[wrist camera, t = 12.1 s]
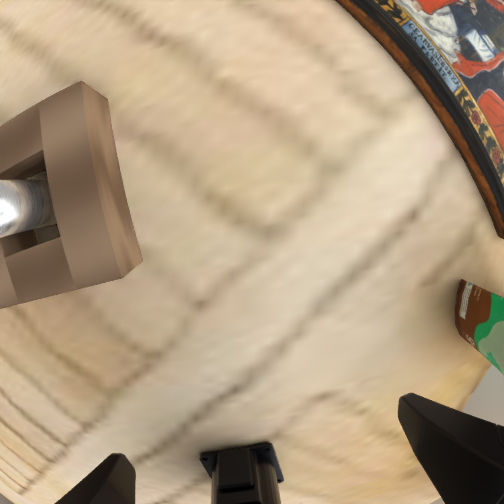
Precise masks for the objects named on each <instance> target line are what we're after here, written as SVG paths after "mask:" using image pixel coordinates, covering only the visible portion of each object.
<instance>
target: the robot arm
mask: <svg viewBox="0 0 504 504" xmlns="http://www.w3.org/2000/svg"><path fill="white" fill-rule="evenodd" d="M398 419H399V421H400V423H401V426H402V428H403V430H404V432H405V434H406V436H407V439H408V441H409V443H410V445H411V447H412V449H413V452H414V454H415V455H416V457H417V459H418V461H419V462H420V464H421V465H422V467H423V468H424V470H425V472H426V473H427V475H428V477H429V478H430V480H431V481H432V483H433V485H434V486H435V488H436V489H437V491H438V493H439V494H440V496H441V498H442V499H443V501H444V503H445V504H504V426H501V425H496V424H495V423H491V422H489V421H486V420H483V419H480V418H477V417H474V416H472V415H469V414H466V413H463V412H461V411H458V410H455V409H453V408H450V407H447V406H445V405H442V404H439V403H437V402H434V401H432V400H429V399H427V398H424V397H422V396H419V395H417V394H414V393H408V394H406V395H403V396H401V397H400V398H399V405H398ZM199 459H200V461H201V463H202V464H203V466H204V468H205V469H206V471H207V473H208V474H209V476H210V477H211V479H212V492H211V504H281V500H280V494H279V489H278V483H281V482H283V481H284V478H283V475H282V472H281V469H280V466H279V463H278V460H277V457H276V454H275V450H274V447H273V445H272V444H271V443H263V444H258V445H253V446H247V447H241V448H235V449H229V450H222V451H214V452H206V453H201V454H200V458H199ZM135 479H136V472H135V469H134V467H133V466H132V464H131V463H130V462H129V460H128V459H127V458H126V456H125V455H124V454H122V453H112V454H111V455H109V456H108V457H107V458H106V459H105V460H104V461H103V462H102V463H101V464H99V465H98V466H97V467H96V468H95V469H94V470H93V471H92V472H91V473H89V474H88V475H87V476H86V477H85V478H84V479H83V480H82V481H80V482H79V483H78V484H77V485H76V486H75V487H74V488H72V489H71V490H70V491H69V492H68V493H67V494H65V495H64V496H63V497H62V498H61V499H60V500H58V501H57V502H56V503H55V504H135Z"/></svg>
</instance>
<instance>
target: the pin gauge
mask: <svg viewBox="0 0 504 504" xmlns="http://www.w3.org/2000/svg"><path fill="white" fill-rule="evenodd" d="M53 224H57V221H56V217H55V212H54V208H53V203H52V199H51V194H50V188H49V183H48V180H0V238H1V237H5V236H8V235H12V234H16V233H20V232H24V231H28V230H32V229H36V228H41V227H45V226H49V225H53Z"/></svg>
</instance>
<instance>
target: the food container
mask: <svg viewBox="0 0 504 504" xmlns="http://www.w3.org/2000/svg"><path fill="white" fill-rule="evenodd" d="M455 321H456V326H457V329H458V332H459V334H460V335H461V336H462V337H463V338H464V339H465V340H466V341H467V342H468V343H470V344H471V345H472V346H473V347H474V348H475V349H476V350H477V351H479V352H480V353H481V354H482V355H483V356H484V357H485V358H486V359H487V360H489V361H490V362H491V363H492V364H493V365H494V366H495V367H496V368H497V369H498V370H499V371H500V372H501V373H503V374H504V298H502V297H500V296H498V295H496V294H494V293H492V292H489V291H487V290H485V289H483V288H481V287H478V286H476V285H474V284H472V283H469V282H467V281H465V280H463V279H462V280H461V284H460V287H459V290H458V293H457V300H456V306H455Z"/></svg>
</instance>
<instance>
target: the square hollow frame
mask: <svg viewBox="0 0 504 504" xmlns="http://www.w3.org/2000/svg"><path fill="white" fill-rule="evenodd" d="M45 169H46V171H47V177H48V183H49V188H50V194H51V199H52V203H53V208H54V212H55V217H56V221H57V225H58V229H59V233H60V237H58V238H55V239H53V240H50V241H47V242H44V243H42V244H39V245H37V242H36V238H35V234H34V230H33V229H32V230H28V231H24V232H20V233H16V234H12V235H8V236H5V237H1V238H0V309H2V308H6V307H10V306H13V305H17V304H21V303H25V302H29V301H33V300H37V299H41V298H45V297H49V296H53V295H57V294H61V293H65V292H69V291H73V290H77V289H81V288H85V287H89V286H93V285H97V284H101V283H105V282H109V281H113V280H117V279H121V278H123V277H124V276H125V275H126V274H128V273H129V272H130V271H131V270H133V269H134V268H135V267H136V266H137V265H139V264H140V263H141V262H142V261H143V259H142V256H141V253H140V249H139V246H138V242H137V238H136V235H135V231H134V227H133V224H132V220H131V216H130V212H129V208H128V204H127V199H126V195H125V191H124V187H123V182H122V177H121V173H120V168H119V163H118V158H117V153H116V148H115V142H114V137H113V131H112V125H111V119H110V112H109V106H108V99H106V98H105V97H104V96H102V95H101V94H99V93H98V92H97V91H95V90H94V89H92V88H91V87H90V86H88V85H87V84H85V83H84V82H82V81H80V82H78V83H76V84H74V85H72V86H70V87H67V88H65V89H63V90H62V91H60V92H58V93H56V94H54V95H52V96H50V97H48V98H46V99H45V100H43V101H41V102H39V103H37V104H36V105H34V106H32V107H31V108H29V109H27V110H25V111H24V112H22V113H21V114H19V115H17V116H16V117H14V118H13V119H11V120H10V121H8V122H7V123H5V124H4V125H2V126H1V127H0V180H25V179H27V178H29V177H31V176H33V175H35V174H37V173H39V172H41V171H43V170H45Z"/></svg>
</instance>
